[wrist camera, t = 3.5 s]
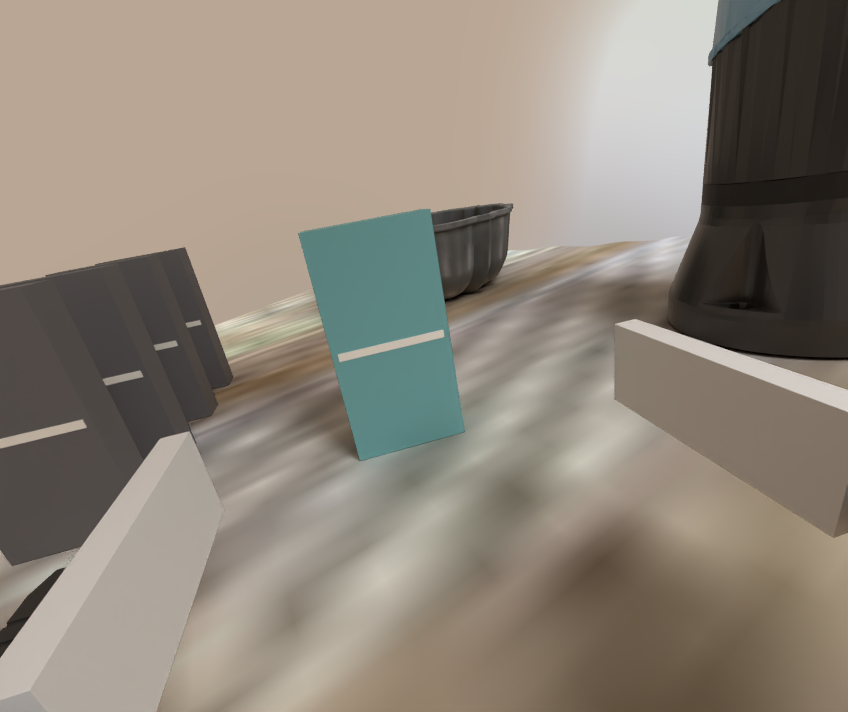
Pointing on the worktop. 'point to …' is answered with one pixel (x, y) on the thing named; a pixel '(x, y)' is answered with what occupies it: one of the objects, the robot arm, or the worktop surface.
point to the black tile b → (121, 352)
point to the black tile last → (195, 314)
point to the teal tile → (386, 329)
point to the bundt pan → (470, 245)
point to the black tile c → (167, 333)
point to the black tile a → (54, 429)
